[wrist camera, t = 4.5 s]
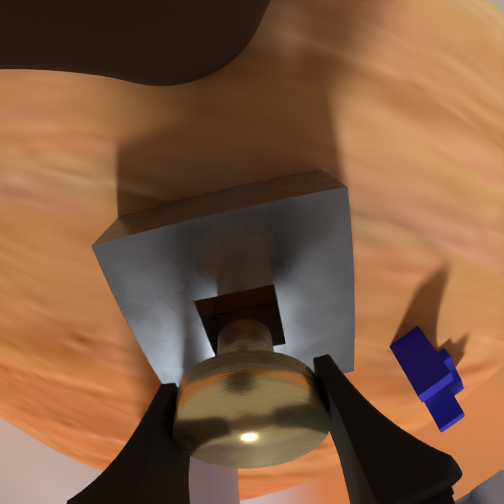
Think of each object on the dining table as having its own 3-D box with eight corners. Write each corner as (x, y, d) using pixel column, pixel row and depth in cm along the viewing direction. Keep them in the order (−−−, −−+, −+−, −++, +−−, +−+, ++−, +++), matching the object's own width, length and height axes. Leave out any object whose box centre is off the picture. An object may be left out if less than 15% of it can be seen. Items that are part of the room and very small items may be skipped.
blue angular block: (451, 370, 26) (475, 407, 21) (420, 393, 27) (441, 432, 22) (430, 313, 22) (466, 359, 17) (388, 344, 23) (417, 396, 18)
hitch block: (181, 363, 22) (175, 404, 18) (117, 218, 16) (91, 246, 13) (336, 332, 21) (353, 370, 18) (321, 170, 16) (347, 186, 13)
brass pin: (208, 384, 16) (205, 473, 11) (169, 307, 13) (144, 407, 8) (308, 364, 15) (332, 453, 10) (292, 279, 13) (325, 378, 8)
